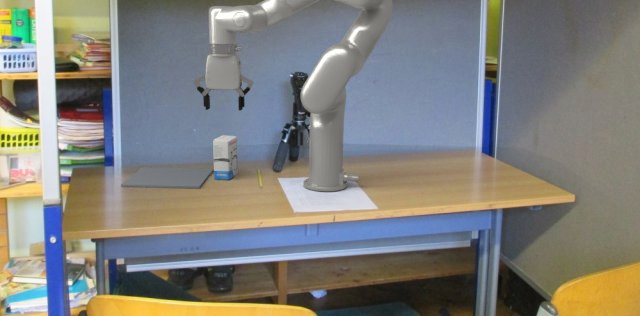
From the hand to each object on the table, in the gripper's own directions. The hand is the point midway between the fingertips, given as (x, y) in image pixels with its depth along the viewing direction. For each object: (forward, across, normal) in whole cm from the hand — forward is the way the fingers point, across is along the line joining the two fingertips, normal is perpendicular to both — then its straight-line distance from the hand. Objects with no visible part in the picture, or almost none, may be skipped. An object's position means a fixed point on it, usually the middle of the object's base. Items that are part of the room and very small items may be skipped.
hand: (224, 109), depth 190 cm
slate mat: (+20, +16, +4) cm, 26 cm away
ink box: (+20, 0, 0) cm, 20 cm away
